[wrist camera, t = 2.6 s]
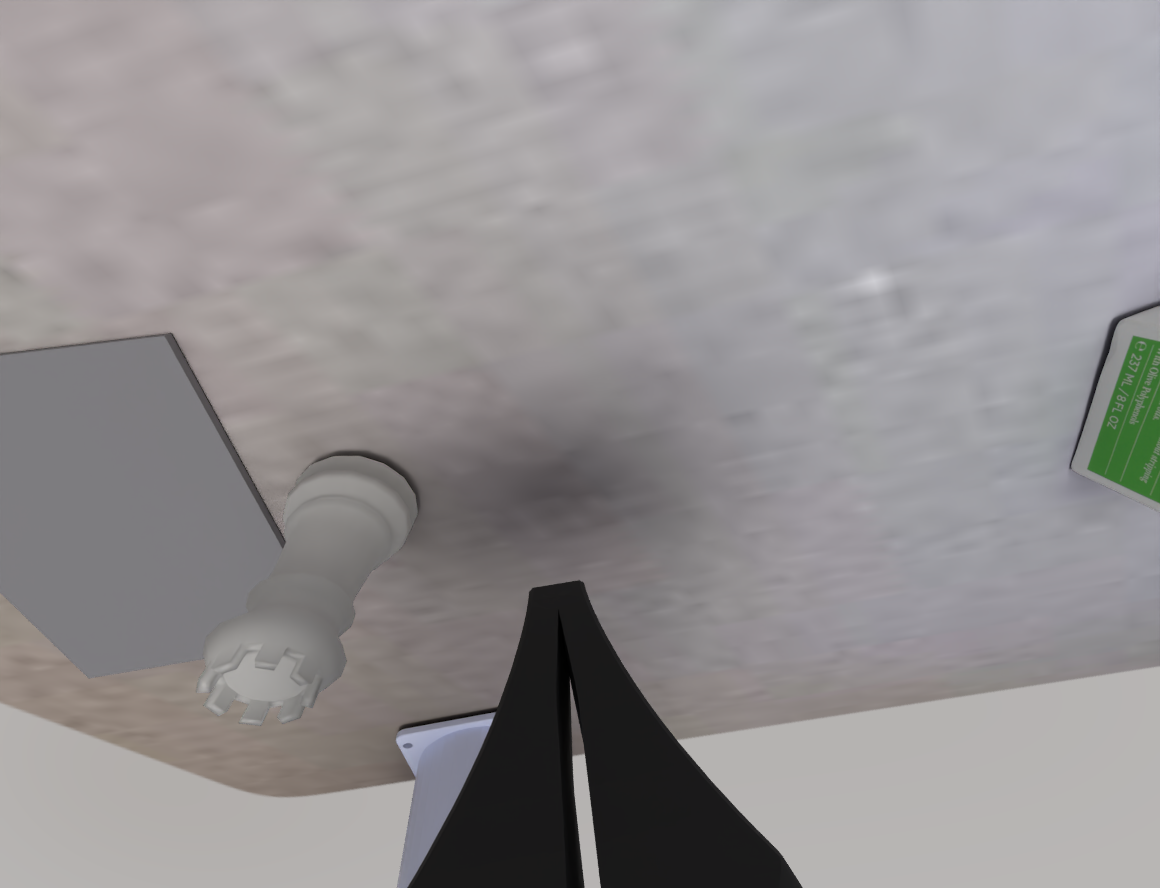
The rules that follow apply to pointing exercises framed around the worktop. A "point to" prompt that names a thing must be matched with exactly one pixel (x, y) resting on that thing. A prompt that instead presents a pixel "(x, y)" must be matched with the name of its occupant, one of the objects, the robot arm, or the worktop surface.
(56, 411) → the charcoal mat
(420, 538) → the worktop surface
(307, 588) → the rook chess piece
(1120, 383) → the skincare box
